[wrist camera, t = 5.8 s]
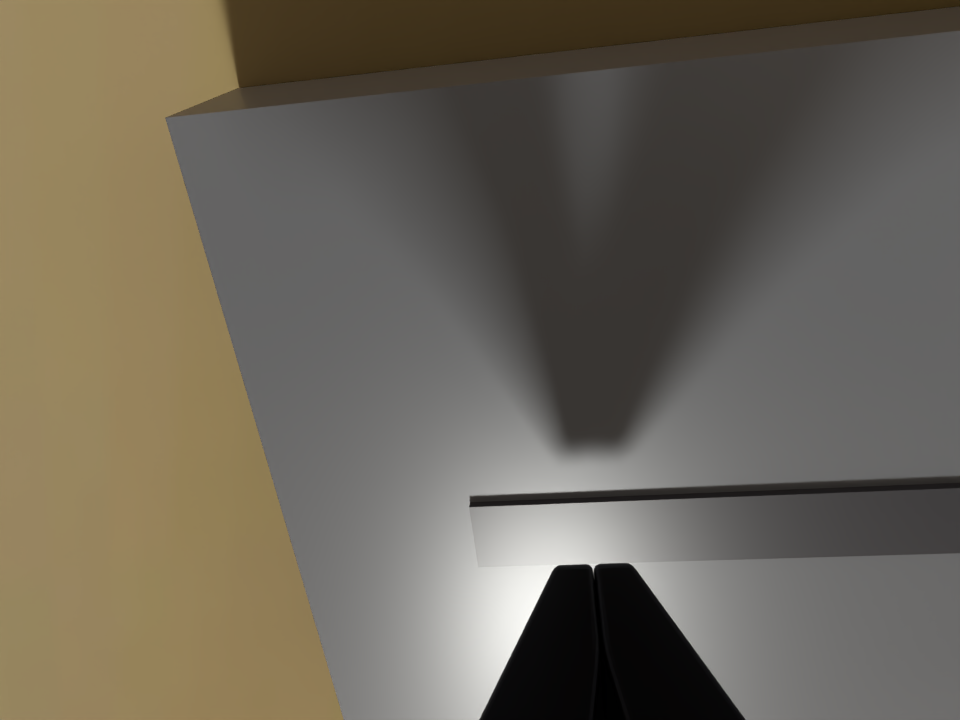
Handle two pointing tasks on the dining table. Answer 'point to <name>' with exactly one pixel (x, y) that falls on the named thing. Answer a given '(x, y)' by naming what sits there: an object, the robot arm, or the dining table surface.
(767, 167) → the mixer panel
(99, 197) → the dining table surface
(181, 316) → the dining table surface
